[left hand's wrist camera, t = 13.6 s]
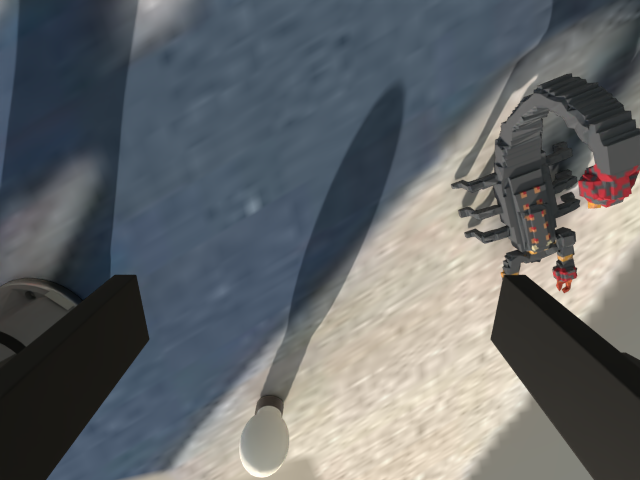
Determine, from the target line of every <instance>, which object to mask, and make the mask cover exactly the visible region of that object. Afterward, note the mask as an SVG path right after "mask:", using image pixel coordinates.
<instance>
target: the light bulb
mask: <svg viewBox="0 0 640 480" xmlns="http://www.w3.org/2000/svg"><path fill="white" fill-rule="evenodd" d="M282 414H283V402H282V400H281V399H279V398H278V397H275V396H265V397H262V398H260V399H259V400H258V402H257V406H256V411H255V416H253V417H252V418H251V419H250V420H249V421H248V423H247V424H246V426H245V428H244V430H243V432H242V435H241V439H240V445H239V447H240V457H241V461H242V464H243V466H244V467H245V469H246V470H247V471H248V472H249V473H250V474H251V475H253V476H256V477H267V476H269V475H271V474H273V473H274V472H276V471H277V470H278V469H279V468H280V466H281V465H282V463H283V462H284V460H285V458H286V455H287V452H288V448H289V432H288V428H287V425H286V423H285V421H284V420H283V418H282Z"/></svg>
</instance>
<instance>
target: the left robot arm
mask: <svg viewBox="0 0 640 480" xmlns="http://www.w3.org/2000/svg"><path fill="white" fill-rule="evenodd" d="M148 341H149V335H148V330H147V325H146V320H145V315H144V310H143V306H142V301H141V296H140V291H139V286H138V281H137V276H136V275H114V276H113V277H112V278H110V279H109V280H108V281H107V282H105V283H104V284H103V285H102V286H100V287H99V288H98V289H97V290H96V291H94V292H93V293H92V294H91V295H89V296H88V297H87V298H86V299H84V300H83V301H82V300H81V299H80V298H79V297H78V296H77V295H75V294H74V293H73V292H71V291H70V290H68V289H66V288H64V287H62V286H60V285H58V284H56V283H53V282H50V281H46V280H41V279H34V278H25V279H17V280H13V281H10V282H8V283H6V284H4V285H2V286H0V480H46V479H47V478H48V476H49V475H50V474H51V472H52V471H53V470H54V468H55V467H56V465H57V464H58V463H59V461H60V460H61V459H62V457H63V456H64V455H65V453H66V452H67V451H68V449H69V448H70V447H71V445H72V444H73V442H74V441H75V440H76V438H77V437H78V436H79V434H80V433H81V432H82V430H83V429H84V428H85V426H86V425H87V423H88V422H89V421H90V419H91V418H92V417H93V415H94V414H95V413H96V411H97V410H98V409H99V407H100V406H101V404H102V403H103V402H104V400H105V399H106V398H107V396H108V395H109V394H110V392H111V391H112V390H113V388H114V387H115V385H116V384H117V383H118V381H119V380H120V379H121V377H122V376H123V375H124V373H125V372H126V371H127V369H128V368H129V366H130V365H131V364H132V362H133V361H134V360H135V358H136V357H137V356H138V354H139V353H140V352H141V350H142V349H143V347H144V346H145V345H146V343H147V342H148ZM491 341H492V342H493V343H494V345H495V346H496V347H497V349H498V350H499V352H500V353H501V354H502V356H503V357H504V358H505V360H506V361H507V362H508V364H509V365H510V366H511V368H512V369H513V371H514V372H515V373H516V375H517V376H518V377H519V379H520V380H521V381H522V383H523V384H524V385H525V387H526V388H527V390H528V391H529V392H530V394H531V395H532V396H533V398H534V399H535V400H536V402H537V403H538V404H539V406H540V407H541V409H542V410H543V411H544V413H545V414H546V415H547V417H548V418H549V419H550V421H551V422H552V423H553V425H554V426H555V428H556V429H557V430H558V432H559V433H560V434H561V436H562V437H563V438H564V440H565V441H566V442H567V444H568V445H569V446H570V448H571V449H572V451H573V452H574V453H575V455H576V456H577V457H578V459H579V460H580V461H581V463H582V464H583V465H584V467H585V468H586V470H587V471H588V472H589V474H590V475H591V476H592V478H593V479H594V480H640V360H639V359H637V358H635V357H633V356H631V355H629V354H627V353H621V352H619V351H618V350H617V349H616V348H615V347H613V346H612V345H611V344H610V343H608V342H607V341H606V340H605V339H604V338H602V337H601V336H600V335H599V334H597V333H596V332H595V331H594V330H592V329H591V328H590V327H589V326H588V325H586V324H585V323H584V322H583V321H581V320H580V319H579V318H578V317H576V316H575V315H574V314H573V313H572V312H570V311H569V310H568V309H567V308H565V307H564V306H563V305H562V304H560V303H559V302H558V301H557V300H556V299H554V298H553V297H552V296H551V295H549V294H548V293H547V292H546V291H544V290H543V289H542V288H541V287H540V286H538V285H537V284H536V283H535V282H533V281H532V280H531V279H530V278H528V277H527V276H526V275H504V276H503V281H502V286H501V291H500V296H499V301H498V306H497V310H496V315H495V320H494V325H493V330H492V335H491Z"/></svg>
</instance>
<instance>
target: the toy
mask: <svg viewBox="0 0 640 480" xmlns="http://www.w3.org/2000/svg"><path fill="white" fill-rule="evenodd" d="M537 88H538V89H535V90H534V94H531V95H529V96H527V97H524V98H523V99H522V101H520V102H521V103H520V104H518V107H515V110H513V111H512V112H513V113H512V114H511V115H510V117H508V119H507V121H506V122H503V123H501V124H502V125H501V130H502V131H500V132H501V133H500V136H499V138H498V139H496V140H495V162H494V171H495V172H494V173H492V174H490V175H487V176H485V177H483V178H479V179H476V180H473V181H470V182H466V181H464V180H461V181H459V182H456V183H453V184H451V186H452V189H456V188H464V189H466V190H468V191H470V192H471V193H473V192H475V191H478V190H480V189H486V188H488V187H490V186H493V185H494V186H493V187H494V192H495V197H496V199H497V204H498V205H494V206H490V207H487V208H484V209H481V210H476V211H474V210H473V209H472V208H471V207H465V208H463V209H460V210H458V212H459V215H460V217H461V218H463V217H467V216H473V217H474V218H476V219H479V220H482V219H485V218H488V217H491V216H494V215H497V214H500V219H501V222H503V223H504V224H506V226H504V227H501V228H499V229H495V230H491V231H487V232H484V233H483V232H480V231H478V230H477V229H473V230H470V231H467V232H465V237H466V238H470V237H476V238H477V239H479V240H480V241H481V242H483V243H489V242H493V241H496V240H500V239H503V238H506V237H508V238H509V239H510V240H511V243H512V245H513V246H514V247H515V248H517V249H518V250H515V251H512V252H508V253H506V255H505V258H506V260H504V261H503V264H504V267H502V268H503V272H501V276H502V280H503V276H504V275H519V270H520V264H521V263H522V262H524V263H529V262H531V263H533V262H540V261H541V259H542V258H544V257H547V256H549V255H551V254H554V253H555V252H557V256H558V260H557V261H556V264H557V266H555V267H553V269H552V270H553V275H554V278H555V279H557V285H556V286H557V288H558V290H559V291H560V290H561V288H562V285H563V284H564V283H566V287H564V288H563V289H562V291H563V292H564V293H566V292H567V291H569V290H570V288H571V282H572V279H575V278H576V277H577V273H576V272H577V268H576V267H575V265H574V260H573V256H572V255H574V248H573V245H574V244H575V242H576V235H575V232H574V231H571V229H568V228H564V227H562V228H559V229H557V230H555V228H556V227H557V226H556V219H555V218H558V217H560V216H563V215H565V214H567V213H569V212H571V211H574V210H576V209H577V208H578V207H580V205H579V203H580V200H578V199H575V196H574V194H573V193H572V192H569V193H567V194H564V195H562V196H561V200H562V201H563V202H565V203H562V204H560V205H557V203H556V198H555V194H557V193H560V192H561V191H563V190H564V189H567V188H569V187H572V186H573V185H574V184H575V183H576V182H577V177H576V176H572V171H570V170H565V171H563V172H560V173H557V174H555V176H556V179H559V180H556V181H554V182H552V180H551V176H550V171H549V166H550V165H552V164H555V163H557V162H560V161H562V160H565V159H567V158H569V157H572V156H573V155H572V149H571V148H567V143H566V142H561V143H558V144H556V145H553V148H554V150H553V151H554V153H553V154H550V155H548V156H546V155H545V152H544V151H542V150H541V145H542V127H543V124H542V123H543V119H542V118H544V117H547V114H548V113H549V112H548V111H552V112H555V113H556V114H557V116H561V117H562V118H563V119H564V121H565V123H566V125H567V127H568V128H573V129H575V131H576V133H577V135H578V137H579V138H580V139H581V140H582V142H585V144H588V146H589V149H590V150H591V151H592V152H593V155H594V160H595V165H594V166H592V167H589V168H586V169H587V170H585V174H584V175H583V176H582V177H581V178H580V180H579V181H578V183H579V194H580V196H582V197H584V198H585V199H586V200H587V201H588V208H601V205H602V206H604V207H606V208H607V207H609V206H612V205H615V204H618V203H621V202H623V199H624V198H625V197H628V196H629V194H632V193H631V188H632V187H633V186H634V184H635V181H636V178H637V176H638V173H639V171H640V128H636V121H635V120H632V117H631V111H625V110H624V105H623V104H621V103H620V102H618V100H617V99H616V98H612V94H610V93H608V92H607V91H606V90H605V89H604V88H603V87H602V86H601V87H599V86H598V83H587V82H586V79H581V78H580V77H572V73H571V74H566V75H563V76H561V77H558V78H556V79H553V80H551V81H548V82H546V83H543V84H541V85H539V86H537Z"/></svg>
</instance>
